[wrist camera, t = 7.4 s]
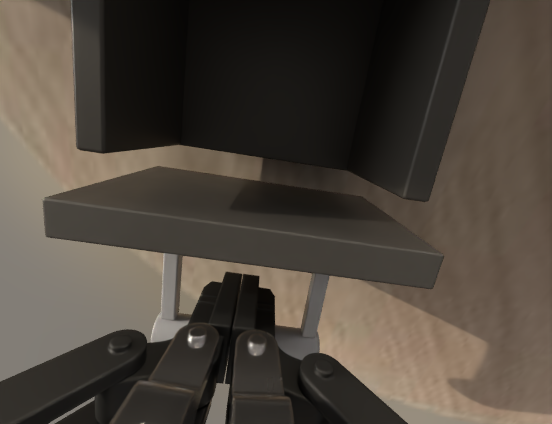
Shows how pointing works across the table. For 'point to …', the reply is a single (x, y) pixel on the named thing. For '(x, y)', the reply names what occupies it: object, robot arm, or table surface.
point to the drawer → (266, 133)
